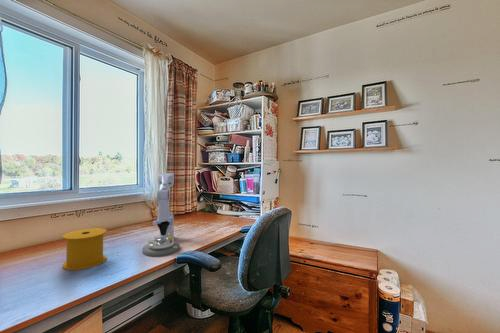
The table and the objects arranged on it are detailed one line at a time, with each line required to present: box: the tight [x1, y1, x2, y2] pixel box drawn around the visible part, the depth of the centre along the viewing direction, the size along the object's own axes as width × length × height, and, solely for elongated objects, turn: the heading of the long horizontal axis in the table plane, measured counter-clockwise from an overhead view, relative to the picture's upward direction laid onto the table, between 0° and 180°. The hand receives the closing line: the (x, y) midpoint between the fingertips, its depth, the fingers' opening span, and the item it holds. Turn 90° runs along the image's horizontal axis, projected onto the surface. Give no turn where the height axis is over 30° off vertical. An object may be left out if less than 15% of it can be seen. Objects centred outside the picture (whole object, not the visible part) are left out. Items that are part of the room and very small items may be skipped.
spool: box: [61, 227, 108, 271], centre depth 116 cm, size 18×18×15 cm
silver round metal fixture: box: [147, 233, 175, 250], centre depth 134 cm, size 14×14×8 cm
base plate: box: [141, 241, 180, 258], centre depth 134 cm, size 20×20×2 cm
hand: (163, 235), depth 131 cm, fingers closed
